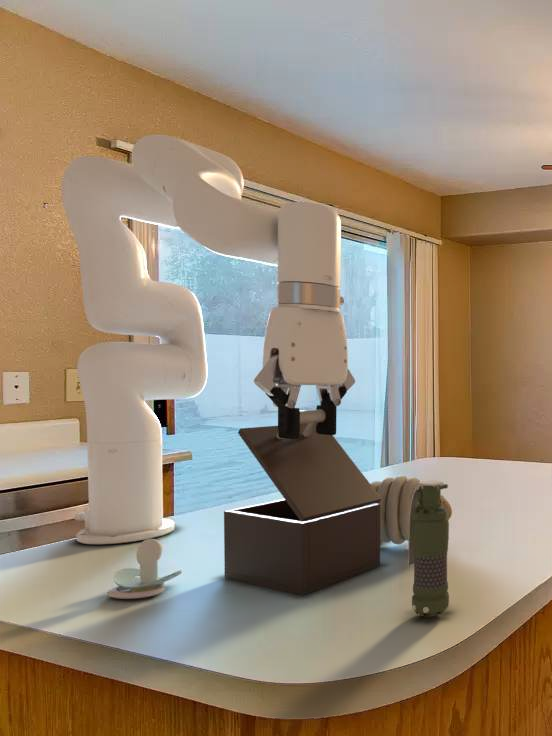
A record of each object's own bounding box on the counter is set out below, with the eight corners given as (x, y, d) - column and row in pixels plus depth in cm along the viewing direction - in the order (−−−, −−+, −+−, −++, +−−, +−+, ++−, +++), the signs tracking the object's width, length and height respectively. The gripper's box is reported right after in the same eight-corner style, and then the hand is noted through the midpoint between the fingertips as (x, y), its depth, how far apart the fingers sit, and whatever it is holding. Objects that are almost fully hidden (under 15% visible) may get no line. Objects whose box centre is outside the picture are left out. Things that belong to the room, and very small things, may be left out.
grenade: (456, 610, 68) (456, 480, 67) (434, 624, 64) (434, 486, 63) (424, 605, 69) (424, 478, 69) (401, 618, 65) (401, 483, 65)
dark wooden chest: (224, 577, 78) (223, 511, 77) (306, 552, 89) (306, 494, 89) (303, 595, 72) (302, 523, 71) (380, 565, 83) (380, 503, 83)
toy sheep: (447, 554, 89) (448, 481, 88) (329, 557, 86) (329, 482, 86) (455, 535, 99) (455, 470, 99) (350, 538, 97) (349, 471, 97)
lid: (237, 432, 76) (256, 402, 74) (320, 425, 87) (337, 399, 86) (301, 522, 71) (322, 492, 70) (379, 502, 83) (399, 476, 81)
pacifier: (148, 604, 69) (189, 584, 75) (146, 551, 68) (187, 536, 74) (91, 601, 69) (136, 582, 75) (88, 549, 69) (134, 533, 75)
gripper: (340, 307, 88) (339, 429, 89) (227, 292, 72) (227, 440, 73) (378, 307, 85) (376, 433, 86) (269, 290, 69) (268, 444, 70)
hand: (308, 434), depth 79 cm, fingers closed on lid, 5 cm apart
